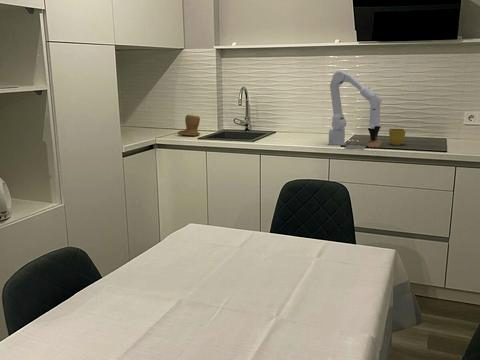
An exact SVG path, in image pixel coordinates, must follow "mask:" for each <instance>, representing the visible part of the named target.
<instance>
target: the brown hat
mask: <svg viewBox="0 0 480 360" xmlns="http://www.w3.org/2000/svg"><path fill="white" fill-rule="evenodd" d="M200 120H201V117H200V116H199V115H193V114H192V115H191V114H186V115H185V129H184V130H179V131H178V132H177V133H176V134H177V135H179V136H187V137H194V136H195V137H196V136H200V135H201V132H199V131H198V129H199V125H200V122H201V121H200Z"/></svg>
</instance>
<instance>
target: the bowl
mask: <svg viewBox="0 0 480 360" xmlns="http://www.w3.org/2000/svg"><path fill="white" fill-rule="evenodd" d="M381 143H382V141H381V142H377V143H372V142H366V146H368V147H367V148H374V147H375V148H380V147H381V146H382V145H381Z"/></svg>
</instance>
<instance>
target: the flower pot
mask: <svg viewBox="0 0 480 360" xmlns="http://www.w3.org/2000/svg"><path fill="white" fill-rule="evenodd" d="M388 132H389V133H388V135H389V136H388V137H389V141H390V144H391V145H392V146H401V145H402V144H403V143H404V141H405V136H406V133H407V132H406V130H405V128H389V129H388Z"/></svg>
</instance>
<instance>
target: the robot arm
mask: <svg viewBox="0 0 480 360" xmlns="http://www.w3.org/2000/svg"><path fill="white" fill-rule="evenodd" d="M343 83H350V84H351V85H352V86H353V87H355V88H356V89H357V90H358V91H359V94H360V95H361V96H362V97H363V98H364V99H366V100H367V101H368V102H369V103H368V104H369V105H370V107H369V124H368V125H369V126H370V127H367V130H368V131H369V136H370V139H371V140H375V137H376V139H378V136H379V132H380V129H381V126H382V123H381V103H382V100H383V98H382V97H381V96H380V95H379V94H377V92H374V91H373V90H372V89H371V87H370V86H366V85H365V86H364V85H363V84H362V83H361V82H360V81H359V80H358V79H357V78H356V77H354V76H353V74H351V73H349V71H347V70H337V71H336V72H335V73H334V74H333V75H332V79H331V81H330V84H329V89H330V98H331V103H332V104H331V105H332V112H333V115H332V119H331V120H332V121H331V127H332V129H331V128H330V130H329V132H328V143H327V145H332V146H333V145H335V146H336V145H338V146H344V145H346V144H347V142H346V141H345V139H346V138H345V137H346V135H345V134H346V128H345V127H346V125H347V120H346V118H345V115H344V113H343V109H342V101H341V99H342V98H341V92H340V87H341V86H342V84H343ZM376 135H377V136H376Z"/></svg>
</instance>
